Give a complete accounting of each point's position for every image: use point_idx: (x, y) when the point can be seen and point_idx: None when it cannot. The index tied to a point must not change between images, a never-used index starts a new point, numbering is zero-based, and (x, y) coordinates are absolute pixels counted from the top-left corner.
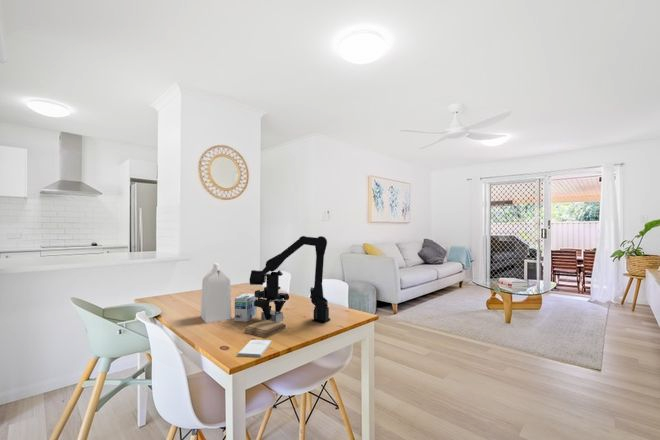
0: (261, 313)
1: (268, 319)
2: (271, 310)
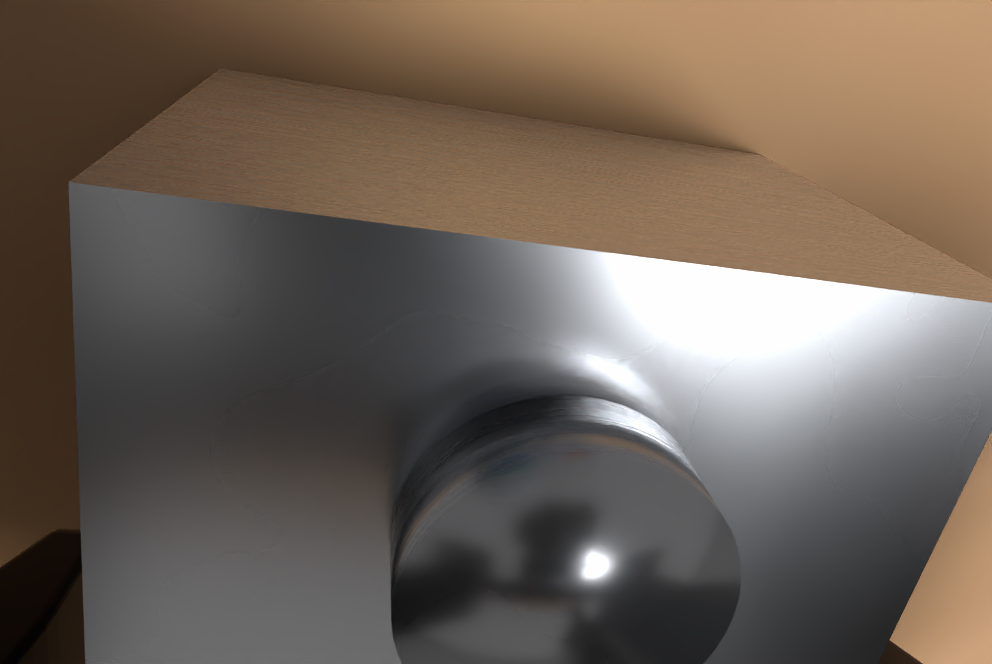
0: (103, 167)
1: None
2: (872, 595)
